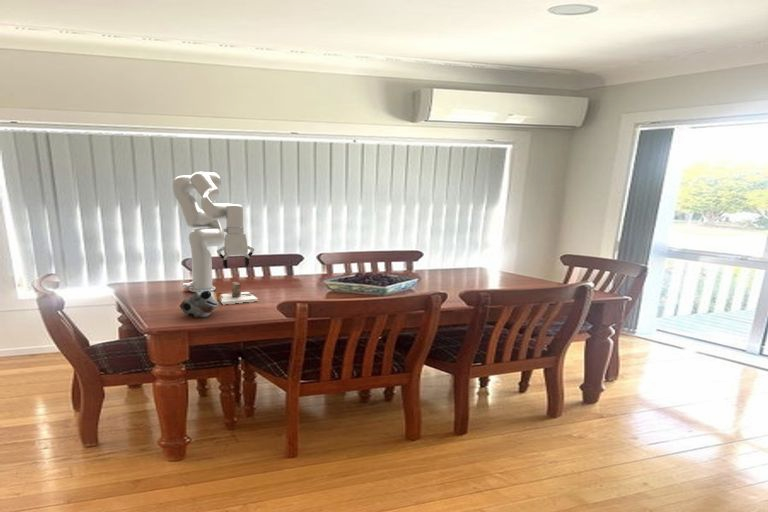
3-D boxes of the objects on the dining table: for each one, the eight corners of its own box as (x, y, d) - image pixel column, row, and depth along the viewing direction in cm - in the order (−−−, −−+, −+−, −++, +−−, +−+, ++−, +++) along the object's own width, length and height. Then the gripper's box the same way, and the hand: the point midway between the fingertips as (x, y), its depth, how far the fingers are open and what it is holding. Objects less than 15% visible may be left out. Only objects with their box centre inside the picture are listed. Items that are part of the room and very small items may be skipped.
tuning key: (233, 297, 238) (233, 284, 237) (230, 294, 244) (229, 282, 243) (254, 295, 243) (254, 283, 242) (250, 293, 249) (250, 280, 248)
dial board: (223, 305, 232) (222, 301, 231) (215, 297, 245) (215, 294, 245) (257, 301, 240) (257, 298, 239) (248, 294, 253) (248, 291, 253)
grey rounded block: (205, 308, 224) (219, 282, 221) (217, 324, 217) (231, 297, 214) (174, 304, 212) (188, 276, 210) (185, 321, 205) (200, 292, 202)
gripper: (218, 232, 230) (219, 269, 232) (255, 230, 239) (256, 266, 241) (214, 231, 236) (215, 267, 239) (251, 229, 245) (252, 264, 247)
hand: (236, 267), depth 240 cm, fingers open, 9 cm apart
